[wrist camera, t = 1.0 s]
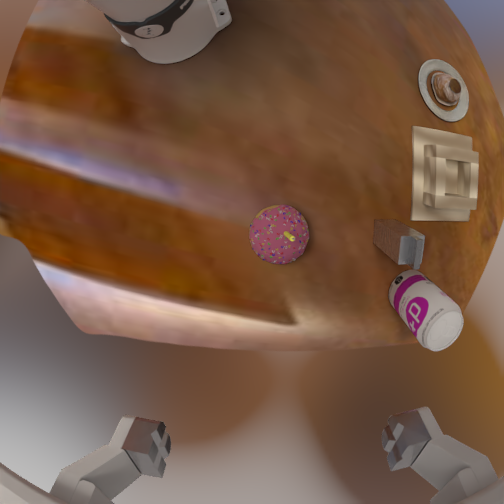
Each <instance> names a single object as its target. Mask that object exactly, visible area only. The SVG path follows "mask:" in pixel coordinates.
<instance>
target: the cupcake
mask: <svg viewBox="0 0 504 504" xmlns="http://www.w3.org/2000/svg"><path fill="white" fill-rule="evenodd" d="M249 240H250V243H251V246H252V249H253V250H254V252H255V253H256V254H257V255H258V256H259V257H260V258H262V259H263V260H266V261H267V262H270V263H274V264H287V263H289V262H291V261H293V260H294V261H295V260H296V258H298V257H299V256H300V255H302V253H303V252H304V251H305V248H306V245H307V242H308V240H309V229H308V225H307V222H306V220H305V219H304V217H303V216H302V214H301V213H300V212H298V211H297V210H295V209H294V208H293V207H291V206H288V205H273V206H270V207H267V208H264V209H262V210H261V211H260V212H259V213H258V214H257V215H256V217H255V218H254V220H253V221H252V222H251V225H250V230H249Z"/></svg>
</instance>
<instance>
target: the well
mask: <svg viewBox="0 0 504 504" xmlns="http://www.w3.org/2000/svg"><path fill="white" fill-rule="evenodd" d="M412 150H413V176H412V203H411V218H410V220H421V221H469V215H470V209H472V210H476V205H477V192H478V152H473V151H472V137H468V136H464V135H460V134H455V133H451V132H446V131H441V130H435V129H430V128H424V127H418V126H412Z"/></svg>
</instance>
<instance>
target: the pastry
mask: <svg viewBox="0 0 504 504" xmlns="http://www.w3.org/2000/svg"><path fill="white" fill-rule="evenodd" d="M435 70H438V71H442V72H444V73H446V74H444V73H435V74H434V75H433V77H432V87H433V90H434V93H435V96H436V99H437V100H438V101H439V102H440V103H442V104H444V105H448V106H450V105H455V104H456V103H457V101H458V99H459V102H458V105H457V107H456V108H455V109H454V110H452V111H445V110H442V109H441V108H439V107H438V106H437V105H436V104H435V103H434V102H433V101H432V99H431V97H430V96H429V93H428V90H427V85H426V82H427V77H428V75H429V74H430V73H431V72H432V71H435ZM434 78H435V79H434ZM418 81H419V88H420V92H421V94H422V97H423V99H424V101H425V102H426V104H427V106H428V107H429V108H430V110H432V112H433V113H434V114H435V115H437V116H438V117H440V118H441V119H443V120H445V121H450V122H455V121H458V120H460V119H462V118H463V117H464V116H465V114H466V113H467V110H468V105H469V97H468V91H467V88H466V85H465V83H464V81H463V79H462V78H461V76H460V74H459V73H458V72H457V71H456V70H455V69H454V68H453V67H452V66H451V65H450V64H448V63H446V62H444V61H442V60H437V59H432V60H428V61H426V62H425V63H424V64H423V65H422V66H421V68H420V71H419V76H418Z"/></svg>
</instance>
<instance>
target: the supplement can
mask: <svg viewBox="0 0 504 504" xmlns="http://www.w3.org/2000/svg"><path fill="white" fill-rule="evenodd" d="M388 297H389V301H390V304H391V305H392V306H393V307H394V309H395V310H396V311H397V313H398V314H399V315H400V317H401V318H402V319H403V321H404V322H405V323H406V325H407V326H408V327H409V329H410V330H411V331H412V333H413V334H414V335H415V337H416V338H417V339H418V341H419V342H420V343H421V345H422V346H423V347H425V348H428V349H430V350H433V351H440V350H443V349H445V348H447V347H448V346H450V345H451V344H452V343H453V342H454V341H455V340H456V339H457V338H458V336H459V334H460V332H461V330H462V327H463V317H462V313H461V309H460V308H459V306H458V305H457V304H456V303H455V302H454V301H453V300H452V299H451V298H450V297H449V296H448V295H446V294H445V293H444V292H443V291H442V290H441V289H440V288H439V287H437V286H436V285H435V284H434V283H433V282H432V281H430V280H429V279H428V278H427V277H426V276H425V275H423V274H422V273H421V272H419V271H417V270H407V271H404V272H402V273H401V274H400V275H398V276H397V277H396V278H395V280H394V281H393V282H392V284H391V287H390V289H389V296H388Z"/></svg>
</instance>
